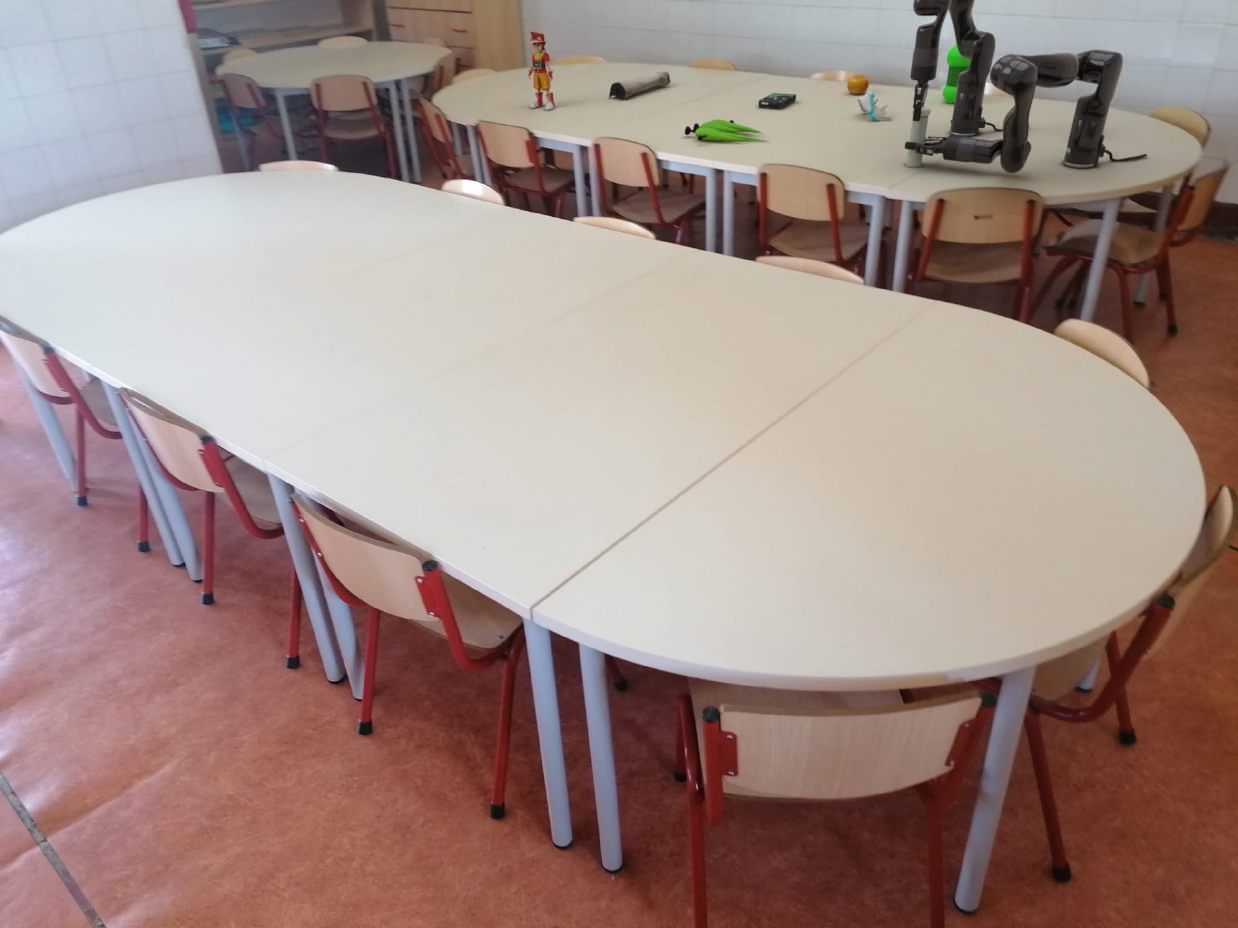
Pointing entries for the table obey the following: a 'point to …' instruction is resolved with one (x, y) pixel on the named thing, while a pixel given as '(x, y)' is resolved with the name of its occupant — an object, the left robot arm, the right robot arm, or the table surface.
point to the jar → (917, 141)
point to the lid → (924, 111)
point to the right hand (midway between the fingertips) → (908, 143)
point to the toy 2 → (721, 131)
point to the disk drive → (777, 100)
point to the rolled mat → (638, 84)
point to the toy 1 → (541, 71)
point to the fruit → (857, 84)
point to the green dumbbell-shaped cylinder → (954, 73)
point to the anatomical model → (872, 107)
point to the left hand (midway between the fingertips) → (917, 117)
